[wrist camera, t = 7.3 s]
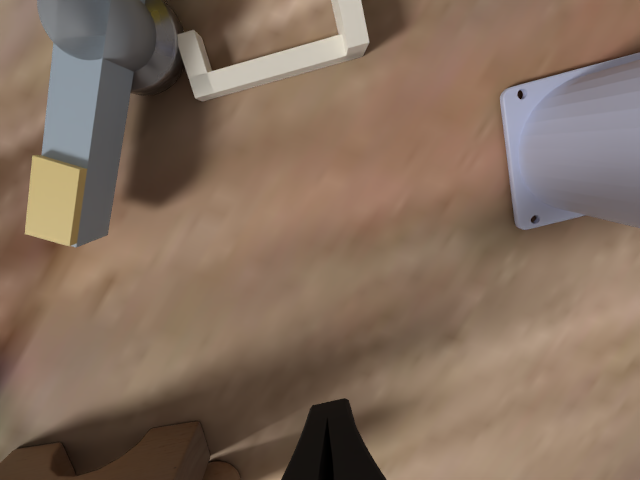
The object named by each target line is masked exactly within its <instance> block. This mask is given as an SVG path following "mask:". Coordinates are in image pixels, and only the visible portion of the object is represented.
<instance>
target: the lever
mask: <svg viewBox="0 0 640 480" xmlns="http://www.w3.org/2000/svg"><path fill="white" fill-rule="evenodd" d="M37 5H38V12H39V17H40V20H41V23H42V25H43V27H44V29H45V31H46V33H47V34H48V36H49V37H50V39H51V40H52V41H53V42H54V44H53V53H52V63H51V72H50V82H49V91H48V101H47V110H46V120H45V129H44V138H43V148H42V155H34V156H33V157H32V167H31V177H30V187H29V197H28V207H27V217H26V227H25V234H27V235H31V236H35V237H38V238H42V239H45V240H49V241H52V242H56V243H60V244H63V245H67V246H73V247H79V246H81V245H84V244H86V243H89V242H91V241H94V240H96V239H99V238H101V237H104V236H106V235H108V230H109V223H110V217H111V211H112V205H113V198H114V192H115V186H116V180H117V174H118V167H119V161H120V155H121V149H122V142H123V136H124V130H125V124H126V118H127V111H128V105H129V99H130V93H131V86H132V80H133V74H134V72H135V71H137V70H139V69H141V68H142V67H143V66H145V65H146V64H147V62H148V61H149V60H150V58H151V57H152V55H153V53H154V50H155V46H156V28H155V23H154V20H153V18H152V16H151V13H150V12H149V10H148V8H147V7H146V6H145V0H37Z"/></svg>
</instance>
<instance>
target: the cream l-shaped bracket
mask: <svg viewBox="0 0 640 480" xmlns="http://www.w3.org/2000/svg"><path fill="white" fill-rule="evenodd" d="M331 2H332V7H333V11H334V16H335V20H336V25H337V30H338V34H339V35H337V36H333V37H330V38H326V39H323V40H319V41H316V42H312V43H309V44H305V45H302V46H298V47H295V48H291V49H288V50H284V51H281V52H277V53H274V54H270V55H267V56H263V57H260V58H256V59H253V60H249V61H246V62H242V63H239V64H235V65H232V66H228V67H225V68H221V69H218V70H214V71H212V69H211V66H210V63H209V59H208V56H207V53H206V50H205V46H204V43H203V40H202V37H201V36H200V35H199V34H198V33H197V32H196V31H195V30H191V31H188V32H184V33H181V34H177V36H178V47H179V50H180V54H181V57H182V60H183V63H184V66H185V69H186V72H187V75H188V78H189V81H190V84H191V87H192V90H193V93H194V97H195V99H198V100H200V101H206V100H210V99H214V98H217V97H221V96H224V95H228V94H231V93H235V92H238V91H242V90H246V89H249V88H253V87H256V86H260V85H263V84H267V83H270V82H274V81H278V80H281V79H285V78H288V77H292V76H295V75H299V74H302V73H306V72H310V71H313V70H317V69H320V68H324V67H327V66H331V65H334V64H338V63H342V62H345V61H349V60H352V59H356V58H359V57H363V55H364V53H365V51H366V49H367V46H368V44H369V38H368V33H367V28H366V23H365V18H364V13H363V8H362V3H361V0H331Z"/></svg>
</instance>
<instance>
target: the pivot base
mask: <svg viewBox="0 0 640 480" xmlns="http://www.w3.org/2000/svg"><path fill="white" fill-rule="evenodd" d="M145 6H146V7H147V8H148V10H149V12H150V13H151V16H152V18H153V20H154V23H155V28H156V46H155V50H154V53H153V55H152V57H151V58H150V60H149V61H148V62H147V64H146V65H145V66H143V67H142V68H141V69H139V70H137V71H135V72H134V74H133V80H132V86H131V93H132V94H137V95H153V94H158V93H160V92H163V91H164V90H166V89H168V88H169V87H171V86H172V85H173V84H174V83H175V82H176V81H177V79H178V78H179V76H180V75H181V73H182V71H183V68H184V63H183V60H182V57H181V54H180V50H179V47H178V36H177V34H181V33H184V30H183V27H182V25H181V23H180V21H179V19H178V17H177V16H176V14H175V13H174V12H173V10H172V9H171V8H170V7H169V6H168V5H167V4H166V3H165V2H164V1H163V0H145Z"/></svg>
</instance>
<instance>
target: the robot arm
mask: <svg viewBox="0 0 640 480" xmlns="http://www.w3.org/2000/svg"><path fill="white" fill-rule="evenodd" d="M519 90H521V91H522V93H523V97H522V98H521V99H519V98H518V96H517V93H518V91H519ZM500 103H501V112H502V120H503V128H504V137H505V145H506V153H507V162H508V170H509V178H510V187H511V195H512V203H513V212H514V220H515V225H516V226H517V227H518V228H520V229H523V230H528V229H532V228H536V227H540V226H544V225H548V224H552V223H556V222H561V221H565V220H569V219H573V218H577V217H581V216H585V215H587V216H591V217H595V218H600V219H604V220H608V221H612V222H616V223H620V224H625V225H629V226H633V227H637V228H640V52H639V53H636V54H632V55H628V56H624V57H621V58H617V59H613V60H610V61H606V62H602V63H598V64H595V65H591V66H587V67H583V68H580V69H576V70H572V71H569V72H565V73H561V74H557V75H554V76H550V77H546V78H543V79H539V80H535V81H531V82H528V83H524V84H520V85H517V86H513V87H509V88H507V89H505V90H504V91H503V92H502V94H501V96H500ZM534 215H535V216H536V219H535V221H534V222H532V223H531V218H532V216H534ZM281 480H386V478H385V477H384V475H383V474H382V472H381V471H380V469H379V468H378V466H377V464H376V463H375V461H374V459H373V458H372V456H371V454H370V453H369V451H368V449H367V447H366V445H365V444H364V442H363V440H362V438H361V436H360V434H359V432H358V429H357V427H356V425H355V421H354V418H353V414H352V410H351V407H350V403H349V400H347V399H345V398H344V399H340V400H335V401H331V402H326V403H322V404H317V405H313V406H312V407H311V408H310V411H309V414H308V417H307V420H306V423H305V426H304V429H303V431H302V434H301V437H300V439H299V442H298V444H297V446H296V449H295V451H294V454H293V456H292V458H291V460H290V462H289V465H288V467H287V469H286V471H285V473H284V475H283V477H282V479H281Z"/></svg>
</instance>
